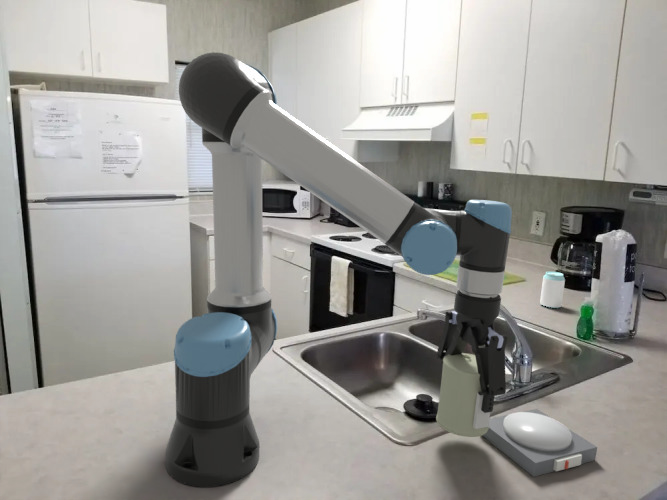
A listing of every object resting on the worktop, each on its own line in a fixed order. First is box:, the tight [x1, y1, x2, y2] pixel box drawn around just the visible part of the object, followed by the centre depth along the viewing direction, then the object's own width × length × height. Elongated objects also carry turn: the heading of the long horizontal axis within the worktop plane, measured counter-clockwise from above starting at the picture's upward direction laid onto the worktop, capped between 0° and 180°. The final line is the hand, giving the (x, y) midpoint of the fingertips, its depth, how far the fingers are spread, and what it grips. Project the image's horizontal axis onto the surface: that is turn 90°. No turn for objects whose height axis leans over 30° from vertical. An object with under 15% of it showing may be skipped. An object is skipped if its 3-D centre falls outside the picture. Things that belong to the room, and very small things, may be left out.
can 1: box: [435, 352, 489, 438], centre depth 91 cm, size 9×9×12 cm
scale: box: [481, 408, 598, 477], centre depth 92 cm, size 14×15×4 cm
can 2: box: [539, 271, 566, 309], centre depth 180 cm, size 7×7×12 cm
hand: (463, 412), depth 92 cm, fingers closed on can 1, 9 cm apart
